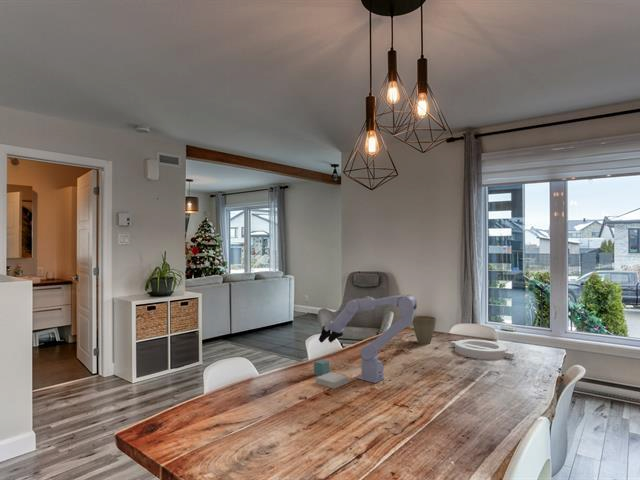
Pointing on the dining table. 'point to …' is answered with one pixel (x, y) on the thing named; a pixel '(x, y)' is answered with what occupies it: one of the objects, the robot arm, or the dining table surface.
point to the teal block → (321, 367)
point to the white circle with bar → (481, 349)
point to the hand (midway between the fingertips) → (324, 341)
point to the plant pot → (424, 328)
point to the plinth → (332, 380)
